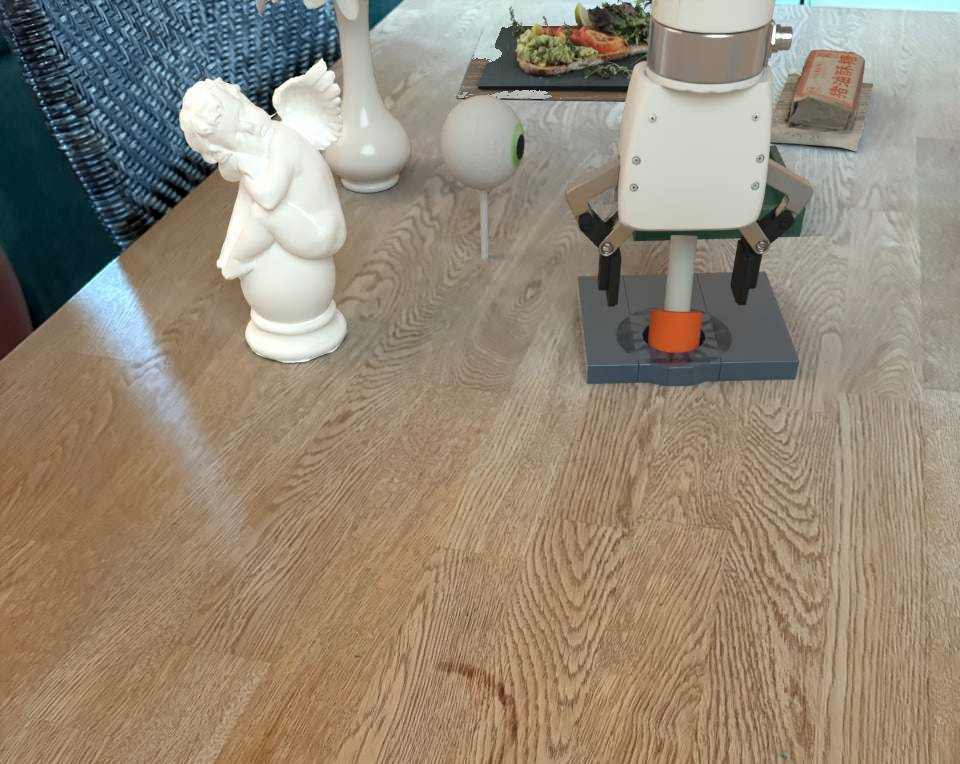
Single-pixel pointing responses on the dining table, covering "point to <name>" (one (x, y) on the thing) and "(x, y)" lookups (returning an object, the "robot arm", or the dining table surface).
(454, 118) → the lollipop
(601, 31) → the plated dish
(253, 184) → the cherub figurine
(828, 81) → the packaged product
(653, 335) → the stopper
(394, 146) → the flower vase
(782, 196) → the green tray
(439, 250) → the dining table surface
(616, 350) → the plate
